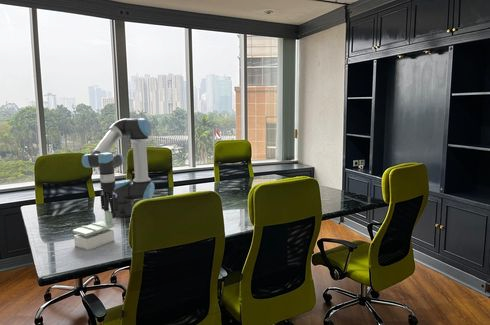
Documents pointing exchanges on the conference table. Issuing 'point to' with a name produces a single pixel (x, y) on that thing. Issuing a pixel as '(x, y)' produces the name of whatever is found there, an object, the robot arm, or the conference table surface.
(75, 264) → the conference table surface
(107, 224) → the lid
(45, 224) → the conference table surface
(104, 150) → the robot arm
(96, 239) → the tub
